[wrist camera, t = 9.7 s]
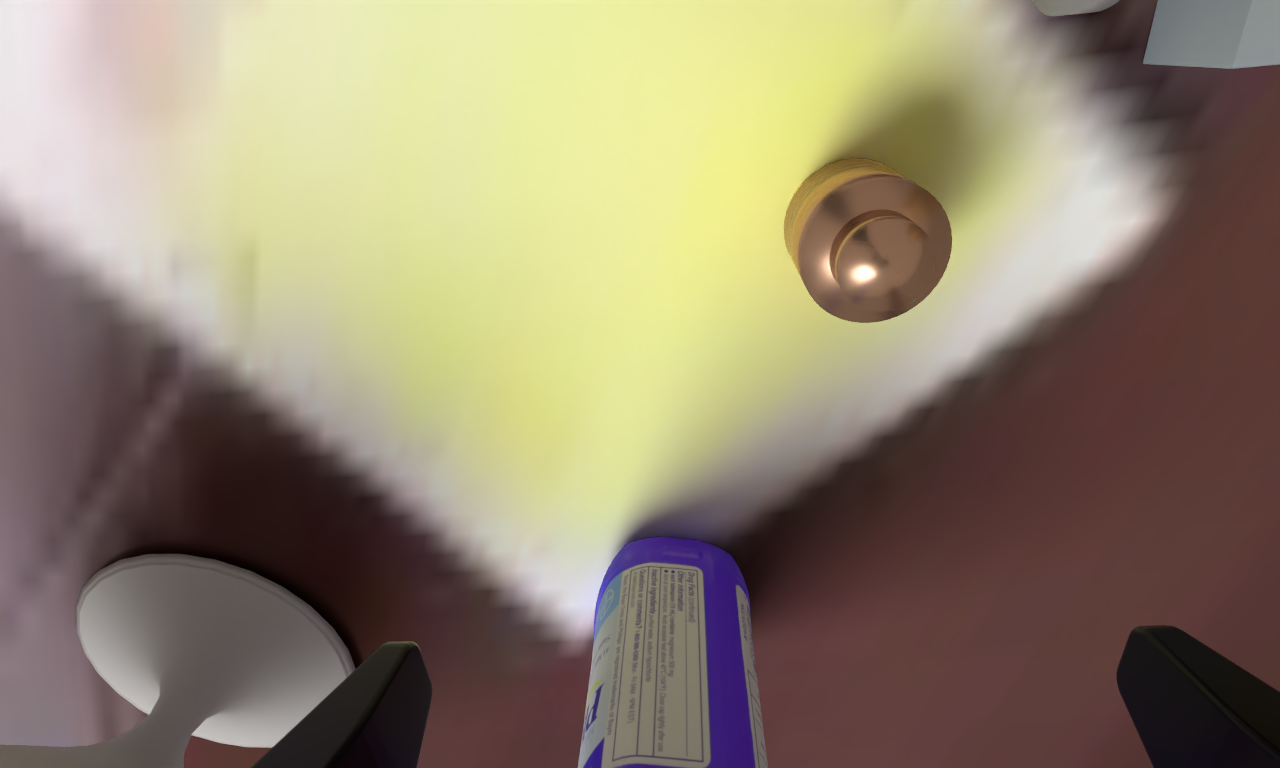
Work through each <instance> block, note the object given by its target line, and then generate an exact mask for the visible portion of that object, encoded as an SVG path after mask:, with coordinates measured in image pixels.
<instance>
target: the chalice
mask: <svg viewBox="0 0 1280 768" xmlns="http://www.w3.org/2000/svg"><path fill="white" fill-rule="evenodd" d="M76 628H77V632H78V635H79V638H80V641H81V644H82V647H83V649H84V652H85V654H86V656H87V657H88V659H89V660H90V662H91V663H92V665H93V666H94V668H95V669H96V671H97V672H98V674H99V675H100V676H101V677H102V678H103V679H104V680H105V681H106V682H107V683H108V684H109V685H110V686H111V687H112V688H113V689H114V690H115V691H116V692H117V693H118V694H120V695H121V696H122V697H124V698H125V699H126V700H128V701H129V702H130V703H132V704H133V705H134V706H135V707H137V708H138V709H140V710H141V711H143V712H145V713H147V714H148V716H147V717H146V718H145V719H143V720H142V721H141V722H140V723H139V724H137V725H136V726H135V727H134V728H133V729H131V730H130V731H128V732H126V733H124V734H122V735H120V736H117V737H115V738H113V739H111V740H109V741H106V742H102V743H97V744H93V745H89V746H77V747H48V746H25V745H0V768H183V761H184V752H185V750H186V747H187V745H188V742H189V740H190V737H191V735H194V736H197V737H201V738H204V739H208V740H211V741H215V742H218V743H224V744H230V745H236V746H243V747H268V748H272V747H273V746H274V745H275V744H277V743H278V742H279V741H280V740H281V739H282V738H283V737H284V736H285V735H286V734H287V733H288V732H289V731H290V730H291V729H293V728H294V727H295V726H296V725H297V724H298V723H299V722H300V721H301V720H302V719H303V718H304V717H305V716H306V715H307V714H308V713H310V712H311V711H312V710H313V709H314V708H315V707H316V706H317V705H318V704H319V703H320V702H321V701H322V700H323V699H324V698H326V697H327V696H328V695H329V694H330V693H331V692H332V691H333V690H334V689H335V688H336V687H337V686H338V685H339V684H340V683H341V682H343V681H344V680H345V679H346V678H347V677H348V676H349V675H350V674H351V673H352V672H353V671H354V670H355V666H354V663H353V661H352V658H351V655H350V653H349V650H348V648H347V647H346V646H345V644H344V643H343V641H342V640H341V638H340V637H339V636H338V634H337V633H336V631H335V630H334V628H333V627H332V626H331V625H330V624H329V623H328V622H327V621H326V620H325V619H324V618H323V617H322V616H320V615H319V614H318V613H317V612H316V611H315V610H314V609H313V608H312V607H311V606H310V605H308V604H307V603H306V602H304V601H303V600H301V599H300V598H298V597H297V596H295V595H294V594H292V593H291V592H290V591H288V590H287V589H285V588H284V587H282V586H280V585H278V584H276V583H274V582H272V581H270V580H268V579H266V578H264V577H262V576H260V575H258V574H256V573H254V572H252V571H249V570H246V569H243V568H240V567H237V566H234V565H231V564H228V563H225V562H221V561H218V560H215V559H209V558H203V557H197V556H191V555H185V554H146V555H141V556H136V557H132V558H127V559H122V560H119V561H117V562H115V563H113V564H111V565H109V566H107V567H105V568H103V569H101V570H99V571H97V573H96V574H95V575H94V576H93V577H92V578H91V579H90V580H89V581H88V582H87V583H86V584H85V585H84V586H83V587H82V590H81V592H80V595H79V598H78V600H77V603H76Z"/></svg>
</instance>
